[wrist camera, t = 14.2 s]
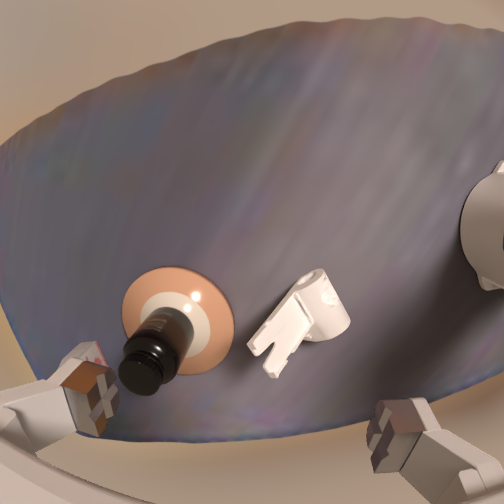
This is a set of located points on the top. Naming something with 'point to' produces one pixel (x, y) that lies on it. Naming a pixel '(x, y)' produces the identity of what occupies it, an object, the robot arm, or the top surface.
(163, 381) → the supplement bottle
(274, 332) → the plastic part
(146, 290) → the peach rimmed plate
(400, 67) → the top surface
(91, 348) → the tea bag
